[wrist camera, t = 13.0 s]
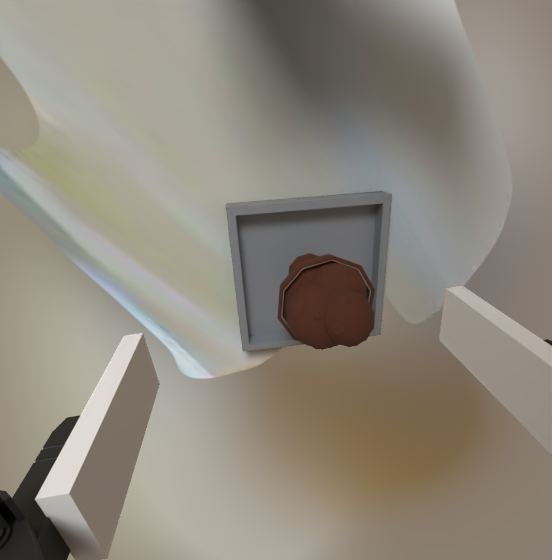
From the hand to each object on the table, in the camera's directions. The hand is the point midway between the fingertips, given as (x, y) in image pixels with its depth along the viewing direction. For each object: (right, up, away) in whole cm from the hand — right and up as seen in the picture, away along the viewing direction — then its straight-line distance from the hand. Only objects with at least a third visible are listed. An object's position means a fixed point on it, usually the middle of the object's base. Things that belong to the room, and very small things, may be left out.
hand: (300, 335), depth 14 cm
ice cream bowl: (+3, +4, +30) cm, 31 cm away
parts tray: (+3, +4, +31) cm, 31 cm away
